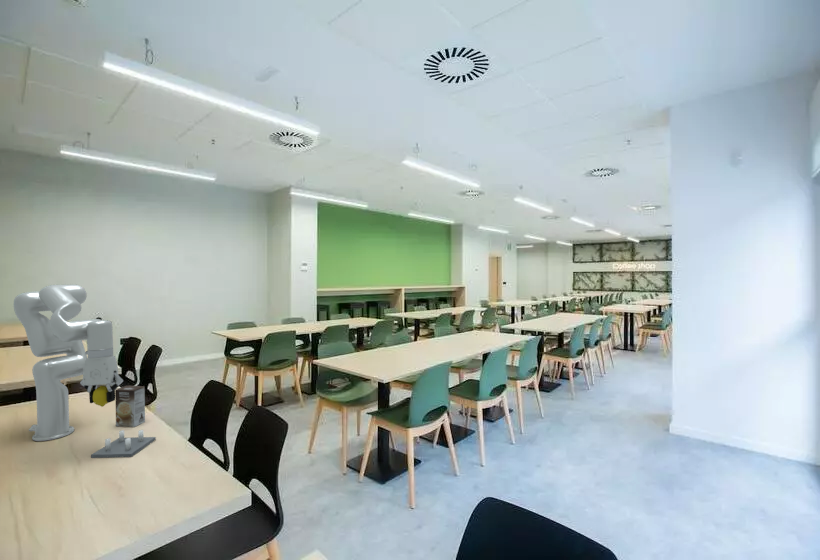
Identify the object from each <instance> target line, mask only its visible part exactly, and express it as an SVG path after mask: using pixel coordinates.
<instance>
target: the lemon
mask: <svg viewBox="0 0 820 560" xmlns="http://www.w3.org/2000/svg"><path fill="white" fill-rule="evenodd" d="M107 392H108V389H107V387H106V385H99V386H97V388H96V389H95V391H94V392H93V402H94V403H93V404H95V405H96V406H100V407H101V408H102V407H104V406H106V405H107V404H108V403H107Z"/></svg>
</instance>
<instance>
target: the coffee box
mask: <svg viewBox="0 0 820 560" xmlns="http://www.w3.org/2000/svg"><path fill="white" fill-rule="evenodd" d="M145 393H146V390H145V386H144V385H143V386H142V385H141V386H140V385H124V386H122V387H118V388H117V389H116V390H115V426H116V427H123V426H129V427H128V428H135V427H137V426H139V425H141V424H143V423H145V422H146V412H145V411H146V399H145V398H146V397H145Z"/></svg>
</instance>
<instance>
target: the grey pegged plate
mask: <svg viewBox="0 0 820 560" xmlns="http://www.w3.org/2000/svg"><path fill="white" fill-rule="evenodd" d="M137 433H138V435H137V437H134V436H133V437H125V430H124V429H123V430H119V432H118V434H119V435H118V438H116V439H114V440H113V441H111V438H110V437H109V438H106V439H104V446H103V447H102V448H100V449H98V450H96V451H95V452H94V453H91V454H90V455H91V457H90V458H91V459H102V458H103V459H104V458H106V459H107V458H108V459H109V458H112V459H113V458H132V457H134V456H135V455H137V454H138V453H140V452H141V451H142V450H143V449H145V448H146V447H148V446H149V445H151V444H153V443H154V442H155V441H156V438H157V437H156V436H144V429H140V430H139V429H138V431H137ZM154 440H155V441H154ZM153 441H154V442H153ZM150 443H151V444H150ZM133 455H134V456H133Z"/></svg>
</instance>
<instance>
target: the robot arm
mask: <svg viewBox="0 0 820 560" xmlns="http://www.w3.org/2000/svg"><path fill="white" fill-rule="evenodd" d="M87 294H88V293H87V291H86V289H85V288H84V287H83V286H82V285H80V284H76V283H75V284H73V283H72V284H71V283H70V284H51V285H46V286H44V287H42V288H41V289H40V290H38V291H37V290H35V291H26V292H23V293H20V294H18V295H17V296H15V297H14V299H13V311H14V313H15V315H16V316H15V317H17V319H18V320H19V321H20V324H22V326H23V328H24V330H25V334H26V337H27V340H28V344H29V348H30V350H31V353H32V354H33V355H34V356H35V357H37V358H43V359H42V360H39V361H37V362H36V363H34V365H33V366H32V376H33V377H32V378H33V380H34V385H35V390H36V391H35V393H36V418H37V419H36V421H37V422H36V424H32V425H31V427H30V428H28V431H29V432H34V434H32V436H31V437H32V441H36V442H44V441H52V440H57V439H60V438H63V437H66V436H69V435H70V434H72V433H73V432H75V427H74V426H72V425H70V411H69V410H70V408H69V407H70V405H69V401H70V400H69V389H68V387H67V386H66V385H65V384H64V383H63V382H61V381H62V380H65V379H70V378H77V377H78V376H79V377H80V376H82V379H81V381H80V383H79V384H80V386H83V387H84V390H85V389H86V392H87V393H88V394H89V395H88V396H89V397H88V398H89V404H95V403H94V402H93V392H94V391H95V389H97V388H98V386H101V385H103V386H106V387H107V389H108V392H107V404H109V403H112V402H114V401H116V397H115V390H116V389H118V388H119V387H120V385H121V384H122V383H123V382H124V379H123V378H122V377H121V376H120V375H119V366H118V361H117V358H116V356H115V355H114V337H113V334H114V331H113V323H112V321H111V320H108V319H107V320H105V319H99V318H94V319H82V320H80V319H79V320H72V319H74V318H76V317H77V316H78V315H79V314H81V311H82V305H81V304H83V303H84V302H85V301H86V299H87V296H88V295H87ZM41 312H51V313H52V315H50V318H48V317H47V316H45V315H44V314H42V313H41ZM69 320H71V321H69ZM83 341H86V345H87V346H86V347H87V350H86V349H85V347H84V342H83ZM64 354H65V355H64ZM58 355H62V356H58ZM51 356H52V357H51ZM53 356H54V357H53ZM45 357H48V358H45ZM49 357H50V358H49Z"/></svg>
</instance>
